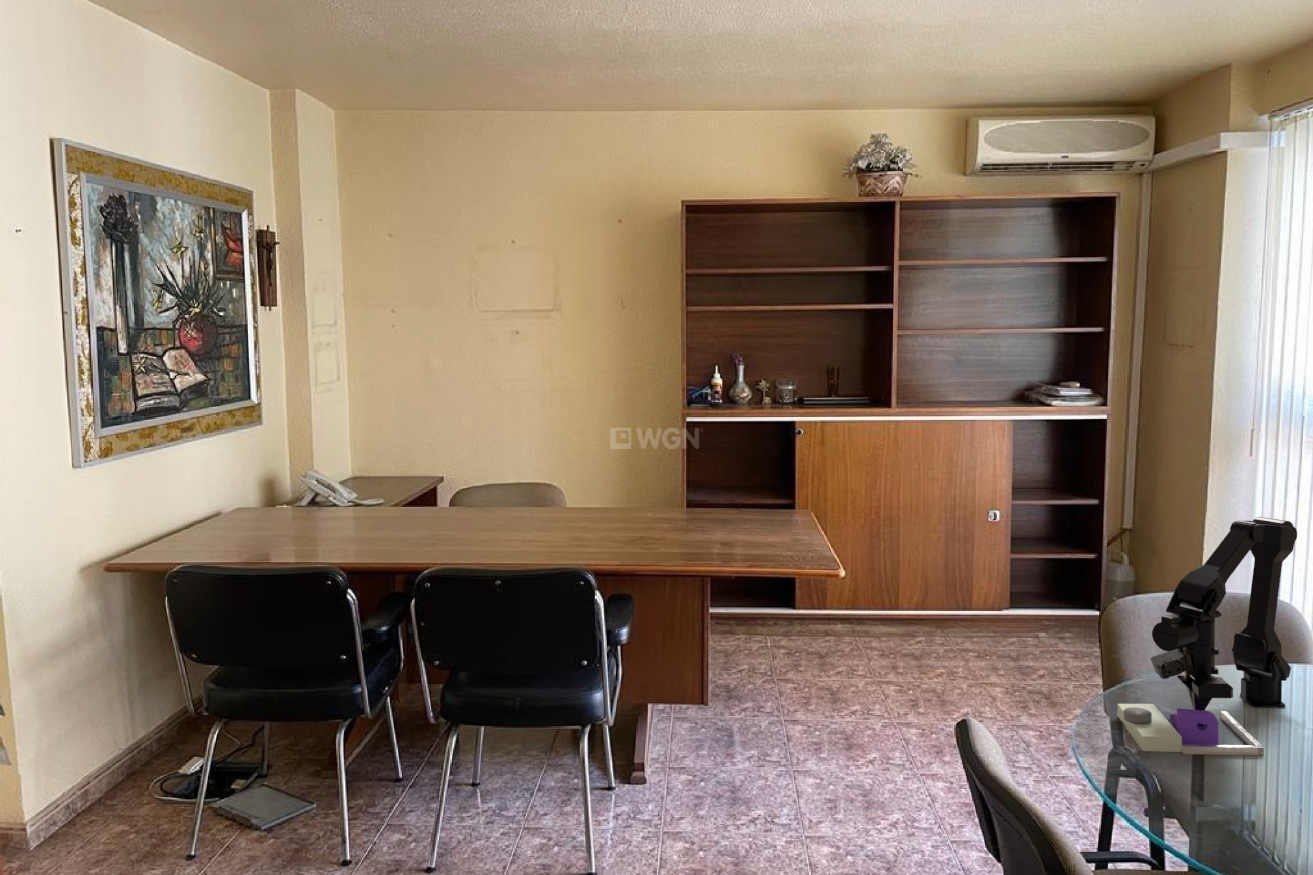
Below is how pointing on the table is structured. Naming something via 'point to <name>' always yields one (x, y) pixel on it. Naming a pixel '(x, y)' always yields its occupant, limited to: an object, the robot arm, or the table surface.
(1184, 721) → the bracket
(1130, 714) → the cream railed tray
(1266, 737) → the table surface
